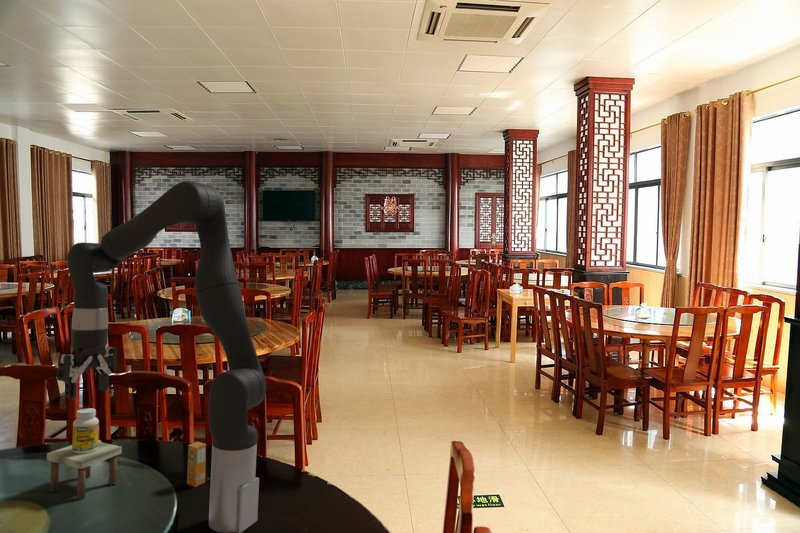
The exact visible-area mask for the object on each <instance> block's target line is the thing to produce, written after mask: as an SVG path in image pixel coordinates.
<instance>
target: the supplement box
mask: <svg viewBox="0 0 800 533" xmlns="http://www.w3.org/2000/svg"><path fill="white" fill-rule="evenodd" d="M206 447H207V444H206V443H203V442H200V441H196V442H192V443H191V444H188V448H187V468H186V469H187V472H186V477H187V478H186V485H188V486H190V487H191V486H192V487H194V488H197V487H199V486H200V485H203V484H205V482H206V459H207V458H206V455H207V454H206V453H207V452H206V451H207V448H206Z"/></svg>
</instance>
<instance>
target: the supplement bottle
mask: <svg viewBox="0 0 800 533" xmlns="http://www.w3.org/2000/svg"><path fill="white" fill-rule="evenodd" d="M75 415H76V419H75V420H73V422H72V442H71V445H72V451H73V452H74V453H76V454H86V453H90V452H93V451H95V450H97V448H98V442H99V428H100V425H99V424H100V423H99V422H100V421H99V419H98V417H96V415H97V410H96V409H95V408H89V407H88V408H87V407H86V408H80V409H77V411H76V414H75Z"/></svg>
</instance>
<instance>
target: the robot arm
mask: <svg viewBox="0 0 800 533" xmlns="http://www.w3.org/2000/svg"><path fill="white" fill-rule="evenodd" d="M226 214H227V213H226V207H225V201H224V200H223V196H222V194H221V193H220V191H219V190H218V189H216V188H215V187H213V186H212V185H208V184H205V183H200V182H196V181H189V180H188V181H187V180H184V181H180V182H178V183H176V184H174V185H173V186H171V187H170V188H169V189H168V190H166V192H164V193H163V194H162V195H161V196H159V197H158V198H157V199H156V200H155V201H153V202H152V203H151V204H150V205H149V206H147V207H146V208H145V209H143V210H142V211H140V213H139V214H136V216H134V217H132V218H131V219H129V220H127V221H125V222H123V223H121V224H120V225H117V226H116V227H114V228H113V229H111V230H108V231H107V232H106V233H105V234H104V235H103V236H102V237H101V240H100V243H99V242H98V243H97V242H77V243H74V244H73V245H72V246H71V247H70V248H69V250H68V253H67V256H66V257H67V258H66V264H67V269H68V272H69V276H70V278H71V283H72V287H73V292H74V296H73V311H72V317H71V338H70V339H71V341H70V342H71V343H70V346H71V347H72V352H71V353H70V354H65V353H61V354H59V355H58V361H57V370H56V371H57V372H56V380H57V381H60V382H63V383H64V385H65V387H64V395H65V397H66V399H69V400H70V399H71V400H73V399H76V398H77V380H78V378H79V377H80V376H81V375H82V374H83V373H84V372H85V371H88V370H91V369H96V370H97V372H98V373H99V375H98V386H97V387H98V390H99V392H100V391H102V392H105V391H108V388H109V386H110V375H111V374H113V373H114V372H117V370H118V348H117V347H112V346H107V345H108V334H109V332H108V331H109V330H108V329H109V311H108V307H109V306H108V302H109V301H108V300H109V297H108V296H109V289H108V286H107V284H105V283H103V282H97V281H96V279H95V275H94V273H106V272H109V271H112V270H114V269H115V268H117V267H118V266H119V265H120V264H122V262H123V261H124V260H125V259H126V258H127V257H129V256H132V255H133V254H135V253H138V252H140V251H141V250H143V249H145V248H146V247H148V246H149V245H150V244H151V243H152V241H153V240H154V239H155V238H156V236H157V234H158V233H160V232H161V231H163V230H164V229H167V228H170V227H171V226H175V225H178V224H182V223H184V224H188V225H189V224H190V225H195V229H196V231H197V235H198V240H199V244H200V253H199V259H198V264H197V267H196V272H195V276H194V289H195V296H196V299H197V300H196V301H197V304H198V308H199V312H200V315H201V317H202V319H203V321H204V322H205V324H206V325H207V327H208V328H209V329H210V331H211V332H212V334H214V336H215V337H216V338H217V340H218V341H219V344H220V345H221V346H222V348H223V351H224V354H225V358H226V361H227V366H228V370H226V371H223V372H221V373H219V374H217V375H216V376H215V377H214V378H213V379H212V382H211V384H210V388H209V394H208V396H209V397H208V428H209V432H210V434H211V438H212V444H211V446H212V447H211V448H212V449H211V462H210V465H211V466H210V467H211V468H210V483H209V484H210V485H209V486H210V487H209V506H208V508H209V511H208V528H209V529H211V530H213V531H214V532H218V533H243V532H244V531H245V530H247V529H248V528H249V527H251V526H252V525H253V524H255V523H256V522H257V521H258V511H259V492H260V491H259V488H260V478H259V477H257V476H256V471H257V470H256V469H257V454H258V453H257V452H258V450H257V446H258V431H257V429H256V427H254V426H252V425H249V424H248V410H250V409H253V408H254V407H256V406H258V405H260V404H261V403H262V402H263V401H264V399H265V396H266V394H267V393H266V392H267V380H266V377H265V374H264V371H263V369H262V368H263V367H262V364H261V362H260V360H259V356H258V354H257V351H256V347H255V346H254V342H253V339H252V338H253V337H252V335H251V334H252V333H251V331H250V327H249V326H250V325H249V321H248V318H247V315H246V311H245V306H244V301H243V297H242V290H241V287H240V283H239V279H238V275H237V271H236V268H235V264H234V258H233V253H232V248H231V244H230V239H229V230H228V225H227V215H226Z"/></svg>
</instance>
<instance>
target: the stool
mask: <svg viewBox="0 0 800 533" xmlns="http://www.w3.org/2000/svg"><path fill="white" fill-rule="evenodd" d="M122 449H123V446H120V445H116V444H111V443H108V442H107V443H106V442H102V441H98V448H97V450H95V451H93V452H90V453H86V454H76V453H74V452H73V451H72V444H70V445H68V446H65V447H62V448H58V449H56V450H53V451H51V452H47V453H46V461H49V462H50V480H49V492H50V493H56V492H58V491H59V477H60V475H59V473H60V472H59V471H60V464H61V465H64V466H69V467H72V468H76V469H77V481H76V482H77V484H76V485H77V487H76V500H77V501H78V500H79V501H80V500H84V499H85V497H86V482H87V481H86V480H87V479H89V478H88V477H90V478H91V468H92V465H95V464H97V463H101V462H103V461H106V460H108V459H109V468H108V469H109V470H108V471H109V472H108V473H109V474H108V485H109V484H112V483H115V482H116V483H117V472H118V456H119V455H121V454H122V452H123V450H122ZM86 478H87V479H86Z"/></svg>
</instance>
